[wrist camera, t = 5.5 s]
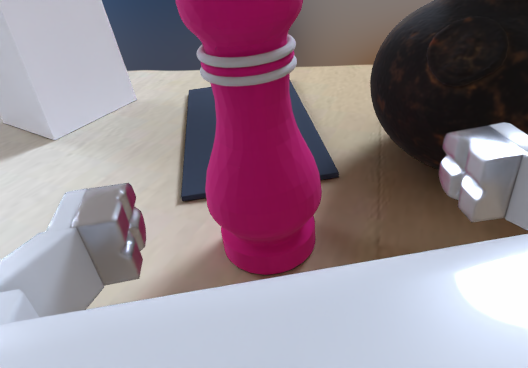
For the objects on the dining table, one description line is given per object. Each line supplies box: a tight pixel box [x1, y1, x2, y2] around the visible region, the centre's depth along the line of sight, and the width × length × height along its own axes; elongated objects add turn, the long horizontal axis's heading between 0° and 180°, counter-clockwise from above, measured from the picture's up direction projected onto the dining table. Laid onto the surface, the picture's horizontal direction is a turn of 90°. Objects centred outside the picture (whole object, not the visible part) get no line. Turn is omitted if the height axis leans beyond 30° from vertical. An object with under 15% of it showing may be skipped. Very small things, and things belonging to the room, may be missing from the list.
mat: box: [181, 79, 339, 201], centre depth 43 cm, size 24×13×1 cm, turn 7°
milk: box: [0, 0, 137, 140], centre depth 45 cm, size 12×12×26 cm
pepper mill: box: [176, 0, 322, 275], centre depth 22 cm, size 7×7×20 cm
